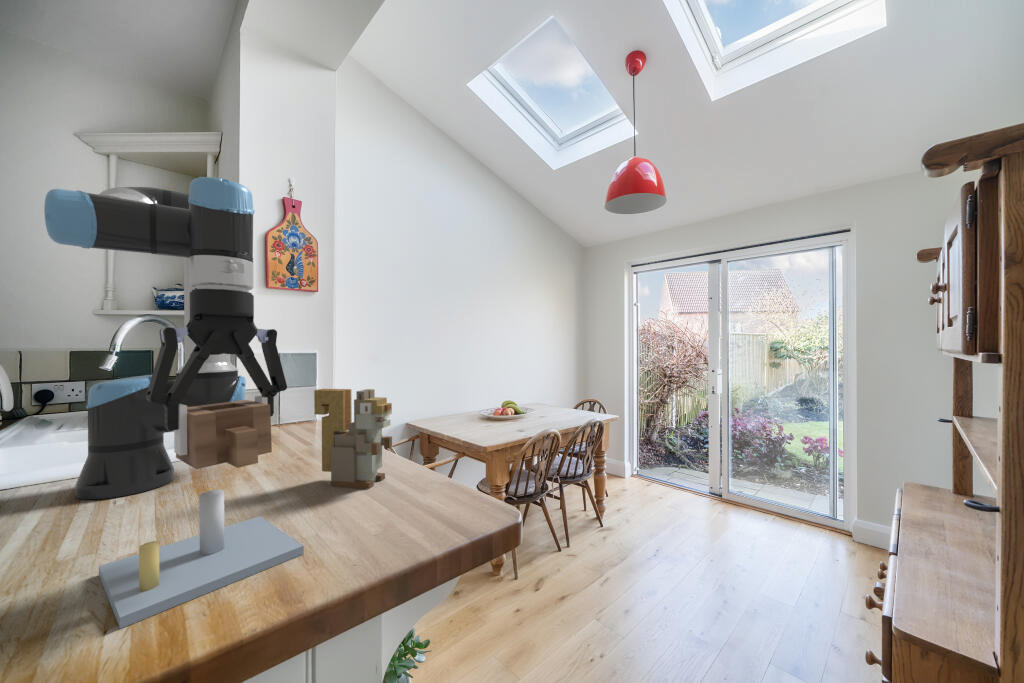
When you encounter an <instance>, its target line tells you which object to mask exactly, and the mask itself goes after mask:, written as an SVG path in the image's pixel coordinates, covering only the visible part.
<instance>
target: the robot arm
mask: <svg viewBox="0 0 1024 683" xmlns="http://www.w3.org/2000/svg"><path fill="white" fill-rule="evenodd" d="M188 191H189V192H188V193H186V192H179V191H174V190H168V189H163V188H157V187H150V186H148V187H147V186H121V187H120V186H119V187H112V188H107V189H105V190H102V191H101V192H100V193H99V194H96V193H91V192H86V191H82V190H78V189H77V190H72V189H71V190H69V189H62V188H53V189H50V190H48V192H47V193H46V195H45V198H44V222H45V223H44V224H45V228H46V232H47V234H48V236H49V238H50V239H51V241H53V242H54V243H57V244H59V245H66V246H72V247H80V248H82V249H97V250H98V249H99V250H109V251H120V252H123V251H124V252H132V253H142V254H143V253H144V254H151V255H158V256H165V257H166V256H168V257H177V258H181V259H182V260H183V274H184V275H183V286H184V287H183V291H184V292H183V293H184V296H183V298H184V299H183V300H184V301H183V302H184V303H183V304H184V305H183V306H184V308H183V310H184V311H183V312H184V314H183V316H184V322H183V323H184V325H183V327H171V326H168V327H161V328H160V329H159V338H160V344H161V345H160V348H159V352H158V355H157V358H156V361H155V365H154V368H153V371H152V374H144V375H139V376H138V375H136V376H130V377H125V378H118V379H112V380H111V379H110V380H105V381H101V382H98V383H95V384H93V385H92V386H91V387H90V388H89V390H88V393H87V394H88V395H87V397H88V398H87V405H86V407H85V408H86V409H87V457H86V459H85V462H84V464H83V467H82V468H81V471H80V473H79V476H78V478H77V481H76V483H75V486H74V487H75V488H74V489H75V498H77V499H82V500H101V499H111V498H118V497H124V496H129V495H135V494H138V493H142V492H147V491H149V490H150V491H151V490H153V489H156V488H159V487H162V486H164V485H166V484H169V483H170V482H172V481H173V480H174V479H175V468H174V465H173V463H172V460H171V458H170V456H169V454H168V452H167V449H166V447H165V444H164V440H165V438H164V435H165V434H166V433H173V432H174V436H173V437H174V440H173V441H174V446H173V447H174V454H175V455H176V454H178V455H180V456H181V455H187V407H193V406H201V405H209V404H217V403H224V402H232V401H240V400H245V398H246V383H247V382H246V378H245V376H242V375H239V368H237V367H236V366H235V365H234V364H232V362H231V355H235V356H236V357H237V359H239V361H240V362H241V363H242V365H243V367H244V369H245V370H246V372H247V374H248V376H249V377H250V378H251V381H252V382H253V383H254V385H255V387H256V389H257V390H258V392H259V393H260V395H256V396H254V402H259V403H264V404H269V405H270V415H271V417H273V416H274V412H275V411H274V408H275V407H274V404H275V397H276V396H277V394H278V393H280V392H284V391H286V390H287V389H288V385H287V380H286V378H285V377H286V376H285V373H284V368H283V366H282V361H281V358H280V355H279V351H278V346H277V339H278V331H277V330H276V329H275V328H273V329H269V328H268V329H264V328H258V327H257V326H256V323H255V322H254V318H255V316H254V314H255V303H254V302H255V298H254V297H255V296H254V294H253V293H252V292H249V291H252V290H253V289H254V256H253V254H254V245H253V244H254V214H255V209H254V204H253V203H254V202H253V201H254V200H253V194H252V192H251V190H250V189H249V188H247V186H245V185H243V184H241V183H238V182H236V181H233V180H230V179H225V178H221V177H214V176H201V177H200V176H199V177H196V178H194V179H192V180H191V181H190V183H189V190H188ZM255 337H256V338H257V340H258V342H259V343H260V344H261V350H262V353H263V357H264V361H265V365H266V368H267V372H268V376H269V379H268V377H267V375H266V374H265V371H264V369H263V368H262V367H261V365H260V363H259V362H258V360H257V358H256V357H255V352H254V351H253V349H252V347H251V346H250V343H251V342H252V341H253V339H254V338H255ZM183 341H184V364H183V365H182V366H181V367H180V368H179V369H177V370H176V372H175V379H169V378H170V374H171V372H172V367H173V364H174V361H175V358H176V355H177V352H178V344H180V343H182V342H183Z"/></svg>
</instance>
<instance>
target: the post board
mask: <svg viewBox="0 0 1024 683" xmlns="http://www.w3.org/2000/svg"><path fill="white" fill-rule="evenodd" d="M198 498H199V500H198V504H199V505H198V506H199V508H198V510H199V511H198V512H199V534H197V535H194V536H191V537H188V538H184V539H181V540H178V541H175V542H172V543H169V544H168V543H167V544H165V545H162V546H160V541H158V540H153V541H152V540H151V541H149V542H145V543H143V544H141V545H140V546H139V547H138V553H136V554H134V555H133V554H132V555H130V556H127V557H123V558H120V559H117V560H114V561H113V560H112V561H111V562H108V563H105V564H101V565H98V576H99V579H100V582H101V584H102V587H103V590H104V592H105V595H106V597H107V598H108V602H109V604H110V608H111V609H112V612H113V614H114V616H115V619H116V622H117V624H118V628H119V630H120V629H123V628H125V627H129V626H131V625H133V624H136V623H139V622H140V621H142V620H145V619H148V618H150V617H152V616H155V615H157V614H159V613H163V612H165V611H167V610H170V609H172V608H174V607H177V606H180V605H182V604H185V603H187V602H189V601H192V600H194V599H197V598H199V597H202V596H204V595H206V594H209V593H211V592H214V591H216V590H219V589H221V588H223V587H227V586H229V585H231V584H234V583H235V582H238V581H241V580H244V579H246V578H248V577H250V576H253V575H255V574H258V573H260V572H263V571H265V570H268V569H271V568H273V567H275V566H278V565H280V564H282V563H285V562H288V561H290V560H293V559H295V558H297V557H299V556H302V555H304V554H305V552H304V550H305V547H304V544H302V543H300V542H299V541H298V540H296V539H294V538H293V537H292V536H290V535H289V534H287V533H286V532H284V531H283V530H281V529H280V528H278V527H277V526H275V525H274V524H272V523H271V522H269V521H268V520H266V519H265V518H264V517H263V516H261V515H259V516H255V517H252V518H249V519H246V520H242V521H240V522H236V523H232V524H230V525H227V526H226V525H225V490H224V489H213V490H208V491H204V492H202V493H200V494H199V496H198Z"/></svg>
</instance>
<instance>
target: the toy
mask: <svg viewBox="0 0 1024 683" xmlns="http://www.w3.org/2000/svg"><path fill="white" fill-rule="evenodd" d="M313 393H314V399H313V400H314V415H317V416H318V415H323V416H321V472H326V473H327V472H329V473H330V482H331V483H330V486H331V487H338V488H340V487H341V488H350V489H351V488H353V489H365V490H367V489H368V490H370V489H371V488H373V487H374V485H375V484H374V483H375V482H382V481H383V480H385V479H386V473H384V472H378V470H380V469H381V468H383V447H384V449H388V450H389V449H391V448H393V436H389V435H383V429H384V428H386V427H389V426H391V419H389V418H390V415H392V413H393V412H392V411H393V410H392V409H393V406H392V404H393V403H392V402H388V400H387V399H388V398H387V397H383V396H382V397H377V396H375V395H376V393H375V388H366V389H362V390H357V391H356V399H353V412H352V389H351V388H319V389H314V390H313ZM352 413H353V418H352ZM352 420H353V422H352Z"/></svg>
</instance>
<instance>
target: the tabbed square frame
mask: <svg viewBox="0 0 1024 683" xmlns="http://www.w3.org/2000/svg"><path fill="white" fill-rule="evenodd" d="M271 417H272V416H271V415H270V405H269V404H264V403H259V402H255V400H253V401H252V400H249V399H244V400H240V401H232V402H224V403H217V404H209V405H201V406H193V407H187V455H181V456H180V455H178V454H176V453H175V458H176V459H178V460H179V461H181V462H182V463H184V464H186V465H188V466H190V467H191V468H193V469H195V470H200V469H204V468H208V467H214V466H218V465H222V464H225V463H226V464H229V465H231V466H232V467H235V468H237V469H239V468H243V467H246V466H250V465H255V464H259V456H260V455H266V454H269V453H273V451H272V450H273V449H272V448H273V447H272V421H271V420H272V418H271Z"/></svg>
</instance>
